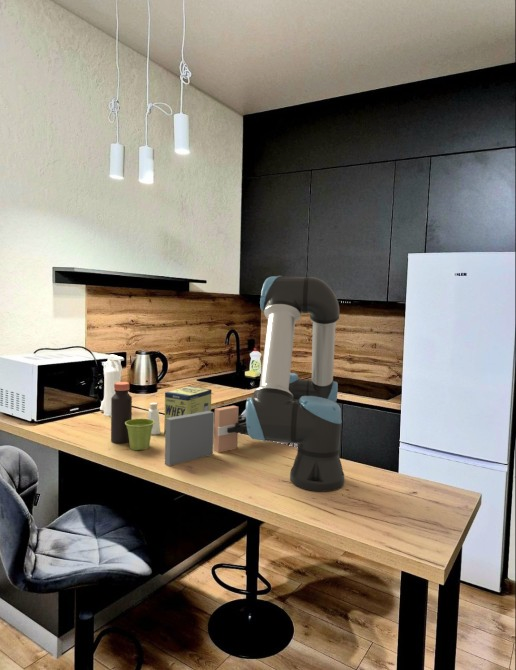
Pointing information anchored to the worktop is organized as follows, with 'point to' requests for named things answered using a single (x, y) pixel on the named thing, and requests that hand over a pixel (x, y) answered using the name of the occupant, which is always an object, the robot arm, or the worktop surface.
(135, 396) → the worktop surface
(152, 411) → the pepper shaker
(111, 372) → the white spray bottle
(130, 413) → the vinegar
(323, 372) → the robot arm
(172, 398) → the protein box
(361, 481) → the worktop surface
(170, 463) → the board
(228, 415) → the stub
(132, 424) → the plant pot
